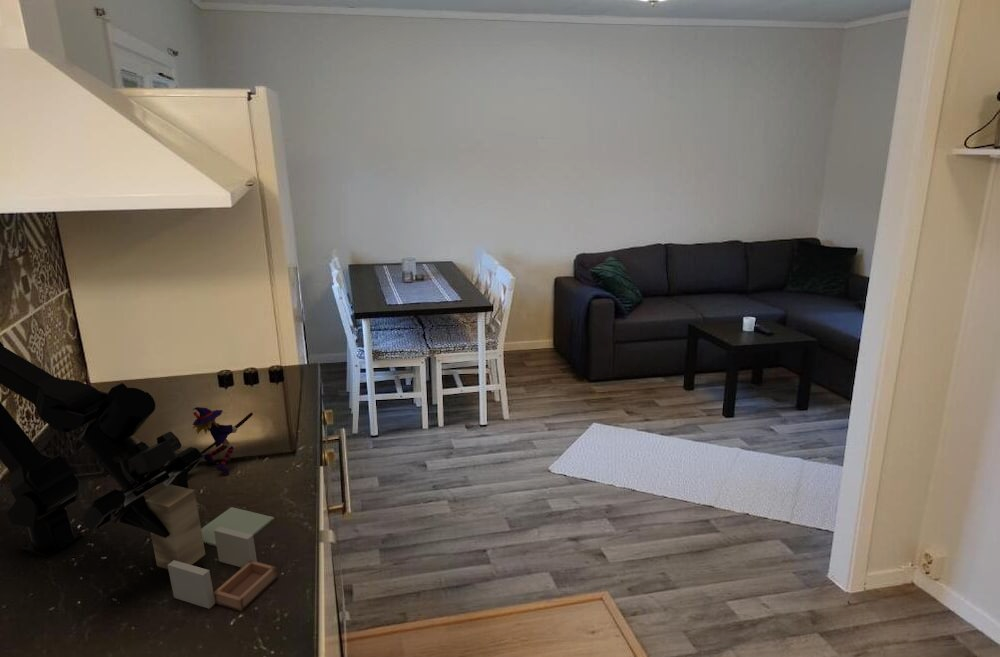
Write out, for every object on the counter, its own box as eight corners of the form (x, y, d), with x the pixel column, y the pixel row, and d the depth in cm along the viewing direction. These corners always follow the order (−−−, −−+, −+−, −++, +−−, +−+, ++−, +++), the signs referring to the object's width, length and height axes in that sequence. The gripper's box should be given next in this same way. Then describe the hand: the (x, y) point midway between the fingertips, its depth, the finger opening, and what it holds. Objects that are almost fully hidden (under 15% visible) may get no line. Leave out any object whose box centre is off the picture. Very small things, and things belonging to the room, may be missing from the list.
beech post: (157, 566, 100) (144, 500, 97) (182, 547, 105) (170, 484, 101) (180, 573, 98) (168, 506, 95) (205, 554, 103) (194, 490, 99)
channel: (174, 597, 96) (167, 564, 95) (224, 556, 106) (219, 526, 104) (209, 608, 94) (203, 575, 92) (257, 566, 103) (252, 534, 101)
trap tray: (215, 603, 95) (213, 592, 94) (252, 570, 102) (250, 560, 102) (241, 611, 93) (239, 600, 93) (277, 577, 100) (275, 567, 100)
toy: (274, 442, 135) (232, 389, 129) (194, 499, 129) (146, 446, 123) (268, 430, 142) (228, 379, 135) (192, 484, 136) (146, 433, 130)
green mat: (189, 539, 110) (189, 537, 110) (231, 508, 119) (231, 507, 119) (234, 551, 107) (234, 549, 107) (274, 519, 116) (273, 517, 116)
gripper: (80, 453, 88) (152, 537, 87) (186, 402, 104) (247, 472, 104) (53, 492, 93) (121, 571, 92) (159, 437, 109) (217, 504, 109)
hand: (181, 526), depth 99 cm, fingers closed on beech post, 5 cm apart
